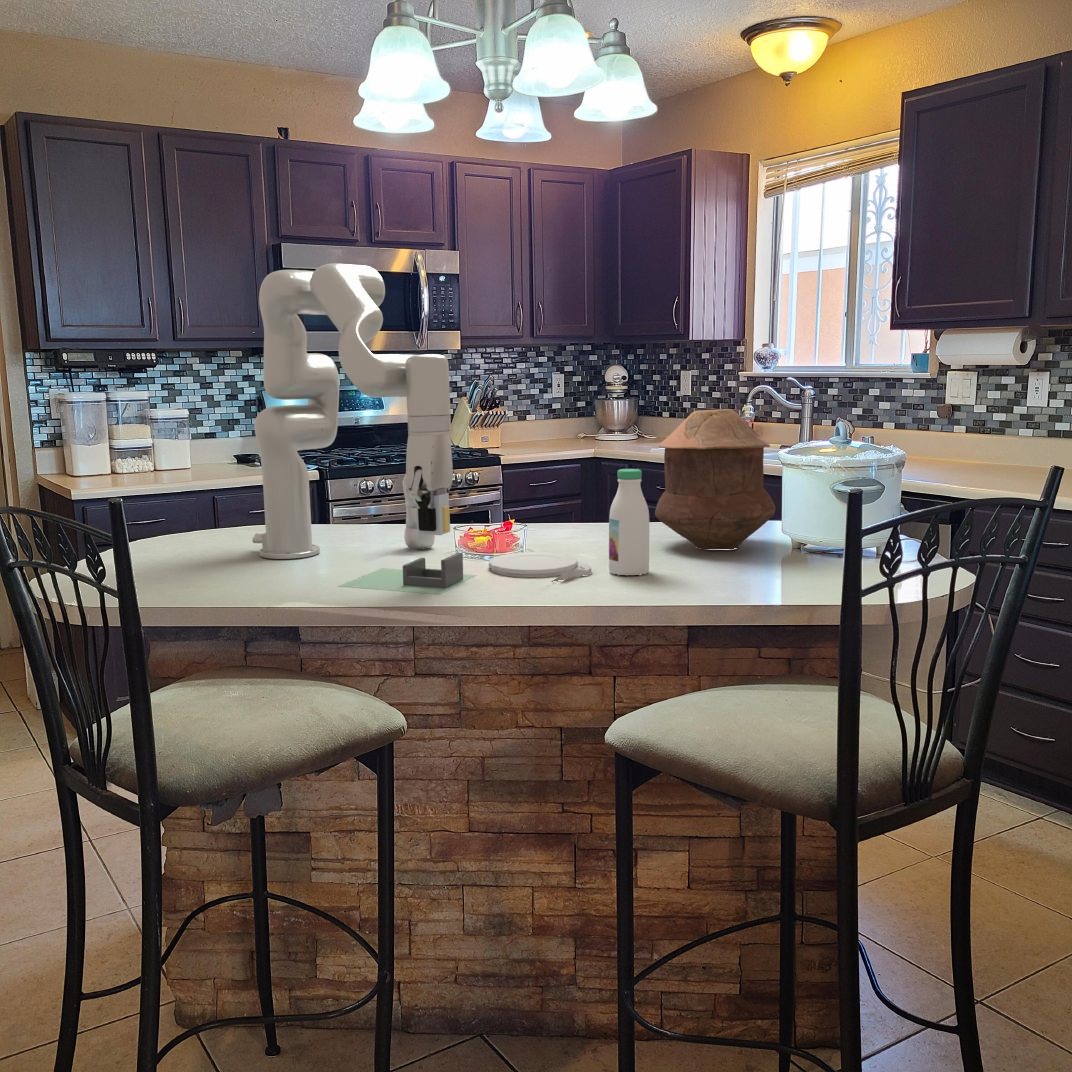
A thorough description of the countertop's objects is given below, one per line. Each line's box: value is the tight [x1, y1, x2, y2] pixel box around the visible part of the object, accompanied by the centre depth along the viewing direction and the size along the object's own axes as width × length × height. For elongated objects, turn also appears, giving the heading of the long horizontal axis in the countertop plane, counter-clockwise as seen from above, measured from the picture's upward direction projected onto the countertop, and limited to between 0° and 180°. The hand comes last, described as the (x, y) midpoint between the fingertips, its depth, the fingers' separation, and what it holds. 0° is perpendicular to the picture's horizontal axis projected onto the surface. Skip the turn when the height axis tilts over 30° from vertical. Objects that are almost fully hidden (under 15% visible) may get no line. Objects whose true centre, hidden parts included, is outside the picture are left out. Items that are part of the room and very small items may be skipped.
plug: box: [416, 488, 451, 536], centre depth 177 cm, size 5×4×8 cm
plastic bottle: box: [401, 474, 436, 550], centre depth 216 cm, size 6×7×20 cm
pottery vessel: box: [654, 408, 776, 550], centre depth 213 cm, size 26×26×30 cm
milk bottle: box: [608, 468, 650, 576], centre depth 189 cm, size 8×8×20 cm
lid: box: [488, 551, 592, 583], centre depth 191 cm, size 17×20×3 cm
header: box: [402, 552, 464, 588], centre depth 179 cm, size 8×7×5 cm
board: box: [337, 568, 477, 595], centre depth 181 cm, size 20×16×1 cm
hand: (433, 527), depth 177 cm, fingers closed on plug, 4 cm apart
